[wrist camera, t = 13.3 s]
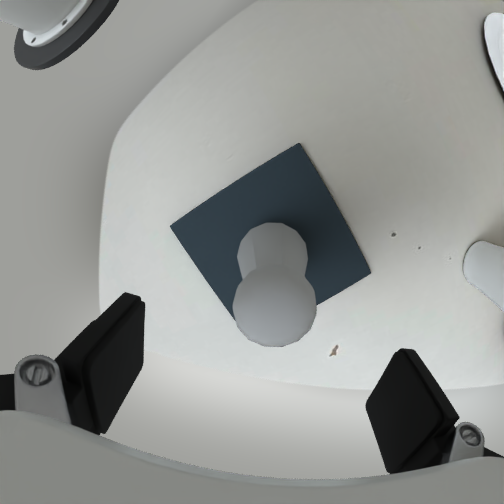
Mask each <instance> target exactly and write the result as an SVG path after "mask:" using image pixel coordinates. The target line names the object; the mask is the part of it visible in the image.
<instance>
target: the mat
mask: <svg viewBox="0 0 504 504" xmlns="http://www.w3.org/2000/svg"><path fill="white" fill-rule="evenodd" d="M264 223H283V224H285V225H286V226H288V227H290V228H292V229H294V230H296V231H297V232H298V234H299V235H300V236H301V238H302V239H303V240H304V242H305V243H306V249H307V255H308V261H307V266H306V271H305V278H306V279H307V280H308V282H309V283H310V284H311V286H312V287H313V289H314V291H315V299H316V305H318V304H320V303H322V302H323V301H325V300H327V299H329V298H330V297H332V296H334V295H336V294H337V293H339V292H341V291H343V290H344V289H346V288H348V287H349V286H351V285H353V284H354V283H356V282H358V281H359V280H361V279H363V278H364V277H366V276H368V275H369V274H371V271H370V269H369V267H368V265H367V263H366V261H365V259H364V257H363V255H362V253H361V251H360V249H359V247H358V245H357V243H356V241H355V239H354V237H353V235H352V233H351V231H350V229H349V227H348V225H347V224H346V222H345V220H344V218H343V216H342V214H341V212H340V211H339V209H338V207H337V205H336V203H335V202H334V200H333V198H332V196H331V195H330V193H329V191H328V189H327V188H326V186H325V184H324V182H323V181H322V179H321V177H320V176H319V174H318V172H317V171H316V169H315V167H314V166H313V164H312V163H311V161H310V159H309V158H308V156H307V154H306V153H305V151H304V150H303V148H302V147H301V145H300V143H298V144H296V145H294V146H293V147H291V148H289V149H288V150H286V151H284V152H282V153H281V154H279V155H277V156H276V157H274V158H272V159H271V160H269V161H267V162H266V163H264V164H263V165H261V166H259V167H258V168H256V169H254V170H253V171H251V172H250V173H248V174H246V175H245V176H243V177H242V178H240V179H239V180H237V181H235V182H234V183H232V184H231V185H229V186H228V187H226V188H225V189H223V190H222V191H220V192H219V193H217V194H216V195H214V196H213V197H211V198H210V199H208V200H207V201H205V202H204V203H202V204H201V205H199V206H198V207H196V208H195V209H193V210H192V211H190V212H189V213H187V214H186V215H185V216H183V217H182V218H180V219H179V220H177V221H176V222H175V223H173V224H172V225H170V227H171V229H172V230H173V232H174V234H175V235H176V237H177V238H178V240H179V241H180V243H181V244H182V246H183V247H184V249H185V250H186V252H187V253H188V254H189V256H190V257H191V259H192V260H193V262H194V263H195V265H196V266H197V268H198V269H199V271H200V272H201V273H202V275H203V276H204V278H205V279H206V281H207V282H208V283H209V285H210V286H211V288H212V289H213V291H214V292H215V293H216V295H217V296H218V298H219V299H220V300H221V302H222V303H223V305H224V306H225V307H226V309H227V310H228V311H229V313H230V314H231V316H232V317H233V318H234V320H235V316H234V313H233V302H234V298H235V294H236V290H237V288H238V285H239V284H240V283H241V282H242V280H243V279H242V275H241V271H240V267H239V263H238V259H237V254H238V250H239V246H240V243H241V241H242V239H243V238H244V237H245V236H246V234H247V233H248V232H249V231H250V229H252V228H255V227H257V226H259V225H262V224H264ZM235 321H236V320H235Z"/></svg>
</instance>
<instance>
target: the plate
mask: <svg viewBox="0 0 504 504" xmlns="http://www.w3.org/2000/svg"><path fill="white" fill-rule="evenodd" d="M484 39H485V42H486V46H487V51H488V55H489V58H490V60H491V63H492V66H493V69H494V72H495V74H496V77H497V79H498V81H499V83H500V85H501V88H502V90H503V92H504V14H502V13H495V12H493V13H491V14H489V15H488V16H486V19H485V22H484Z"/></svg>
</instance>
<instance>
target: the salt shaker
mask: <svg viewBox="0 0 504 504" xmlns="http://www.w3.org/2000/svg"><path fill="white" fill-rule="evenodd" d="M237 259H238V263H239V267H240V271H241V275H242V279H243V280H242V282H241V283H240V284H239V285H238V288H237V290H236V294H235V298H234V302H233V313H234V316H235V320H236V323H237V327H238V328H239V329H240V331H241V332H242V333H243V334H244V335H245V336H246V337H247V338H248V340H251V341H253V342H255V343H258V344H260V345H262V346H269V347H283V346H286V345H288V344H291V343H294V342H296V341H299V340H300V339H301V338H302V337H303V336H304V335H305V334H306V333H307V332H308V331H309V330H310V329H311V327H312V324H313V322H314V319H315V316H316V311H317V307H316V299H315V291H314V289H313V287H312V286H311V284H310V283H309V282H308V280H307V279H306V278H305V271H306V266H307V261H308V255H307V249H306V243H305V242H304V240H303V239H302V238H301V236H300V235H299V234H298V232H297V231H296V230H294V229H292V228H290V227H288V226H286V225H285V224H283V223H264V224H262V225H259V226H257V227H255V228H252V229H250V231H249V232H248V233H247V234H246V236H245V237H244V238H243V239H242V241H241V243H240V246H239V250H238V254H237Z"/></svg>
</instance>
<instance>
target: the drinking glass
mask: <svg viewBox="0 0 504 504" xmlns="http://www.w3.org/2000/svg"><path fill="white" fill-rule="evenodd" d="M463 272H464V276H465V278H466V280H467V281H468V282H469V283H470V284H471V285H473V286H474V287H476V288H477V289H478V290H480V291H481V292H482V293H483V294H484V295H485V296H487V297H488V298H489V299H490V300H491V301H492V302H493V303H494V304H495V305H496V306H498V307H499V308H500V309H501V310H502V311H503V312H504V247H501V246H498V245H494V244H491V243H489V242H486V241H478V242H476V243H474V244H473V245H472V246H471V247H470V248H469V250H468V251H467V253H466V256H465V259H464V263H463Z"/></svg>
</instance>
